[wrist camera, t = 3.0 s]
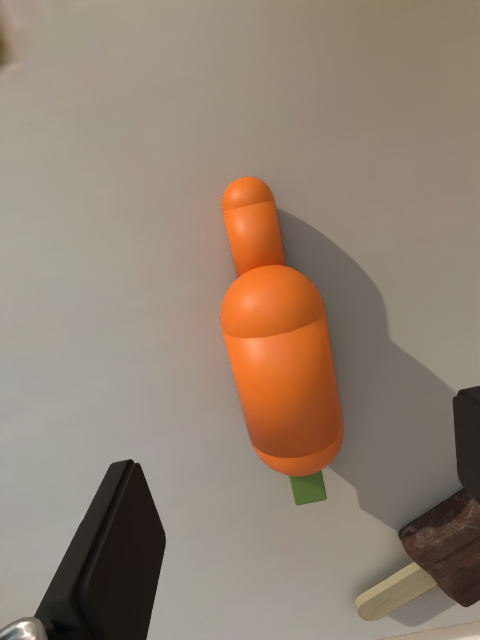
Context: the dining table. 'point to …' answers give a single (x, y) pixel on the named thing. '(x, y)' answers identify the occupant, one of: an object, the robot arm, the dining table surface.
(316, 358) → the carrot
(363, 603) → the ice cream bar
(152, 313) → the dining table surface
